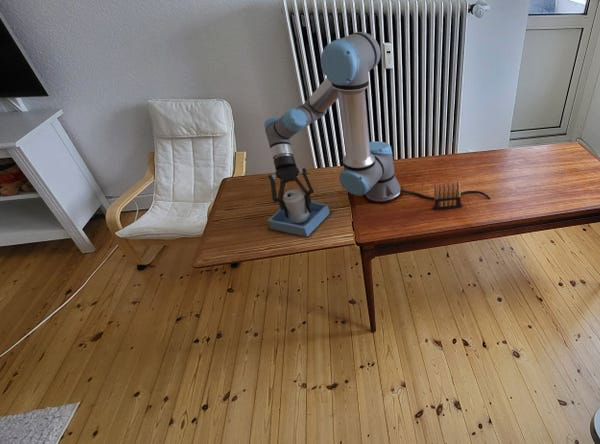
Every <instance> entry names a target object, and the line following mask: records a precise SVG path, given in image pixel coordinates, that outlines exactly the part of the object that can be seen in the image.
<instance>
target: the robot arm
mask: <svg viewBox="0 0 600 444" xmlns="http://www.w3.org/2000/svg"><path fill="white" fill-rule="evenodd" d="M381 53H382V52H381V48H380V44H379V43H378V41H377V39H376V38H375V37H374V36H372V35H371V33H367V32H364V31H357V32H353V33H351V34H349V35H347V36H344V37H341V38H337V39H334V40H333V41H331V42H330V43H328V44H327V45H326V46H325V47H324V48H323V50H322V52H321V56H320V67H321V70H322V73H323V75H324V76H326V78H325V79H324V80H323V81H322V83H320V85H319V86H318V87H317V88H316V90H315V91H313V92H312V94H311V95H310V96H309V97H308V99H306V101H305V102H304V103H302V104H301V105H299V106H297V107H295V108H294V107H293V108H290V109H289V110H288V111H285V112H284V113H283V115H281V116H280V117H276V116H275V117H270V118H268V119H266V120H265V121H264V123H263V124H264V129H265V135H266V138H267V142H268V145H269V149H270V153H271V156H272V157H271V158H272V159H273V165H274V168H275V173H274V174H272V175H271V174H269V175H268V179H269V181H270V190H271V200H272V201H273V202H276V203H277V202H278V207H279V210H280V209H281V210H284V213H285V217H286V218H289V216H288V212H287V209H286V206H285V203H284V201H283V198H284V194H285V187H286V184H287V183H289V182H295V183H296V184H297V186H298V187H299V188H300V189H301V190H302V193H303V194H304V198H305V201H306V205H307V209H308V212H309V213H311V211H310V207H309V204H310V203H311V202H312V199H311V195H312V194H314V189H313V186H312V184H311V182H310V180H309V178H308V175H307V168H305V167H303V168H299V167H297V162H296V159H295V157H294V152H293V148H292V145H291V140H290V139H291V138H293V136H295V135H296V134H297V133H299V132H301V131H302V130H303V129H305V128H306V127H308V126H310V125H311V124H312V123H314V122H316V121H318V120H320V119H321V118H323V117H324V116H325V115H326V114H327V112H328V110H329V108H330V107H331V106H333V104H334V103H335V102H336V101H337V100H338V104H339V111H340V118H341V126H342V134H343V141H344V148H345V154H344V156H343V157H342V165H343V170H342V171H340V173H339V175H338V181H339V183H340V185H341V187H342V188H343V189H344V190H345V191H346V192H347V193H349V194H351V195H354V196H364V195H365V198H366V199H367V200H368V201H370V202H372V203H377V204H385V203H390V202H392V201H395V200H396V199H398V198H399V197H400V196H401V194H402V193H403V194H409V195H413V196H414V195H415V196H419V197H421V198H423V199H428V200H435V197H434V196H427V195H425V194H422V193H419V192H415V191H412V190H411V191H410V190H404V189H401V185H400V183H399V181H398V179H397V177H396V175H395V174H396V173H395V166H394V156H393V151H392V146H391V145H390V144H389V143H388V142H385V141H380V140H379V141H370V133H369V123H368V110H367V100H366V89H367V88H368V87H369V85H370V81H369V72H370V71H371V70H373V69H374V68H376V66H378V64H379V62H380V61H381V56H382V55H381ZM299 173H300V175H302V177H303V178H304V182H306V185H307V188H308V190H307V188H306V187H305V186H304V185H303V183H302V182H301V181H300V180H299V178H298V175H299ZM277 178H278V179H279V180H280V181H279V182H280V184H279V188H278V195H277V187H276V186H277V185H276V181H277ZM465 194H479V195H482V196H484V197H485V198H486V199H488V200H491V199H492V198H491V197H490V195H488V194H486V193H485V192H483V191H480V190H465V191H462V192H461V191H460V196H463V195H465Z"/></svg>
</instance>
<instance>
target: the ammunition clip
mask: <svg viewBox="0 0 600 444" xmlns="http://www.w3.org/2000/svg"><path fill="white" fill-rule="evenodd" d="M460 193H461V185H460V181H457V182H456V183H455V181H453V182H452V185H451V182H448V183H446V182H443V185H442V182H440V183H439V185H438V184H437V183H435V184H434V191H433V197H435V199H434V210H435V211H436V210H437V211H438V210H446V209H447V210H448V209H456V208H457V209H459V208H461V207H462V201H461V199H462V198H461V195H460Z"/></svg>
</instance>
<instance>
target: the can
mask: <svg viewBox="0 0 600 444" xmlns="http://www.w3.org/2000/svg"><path fill="white" fill-rule="evenodd" d="M304 195H305V193H304V192H303V191H301V190H300V189H296V188H295V189H294V188H293V189H288V190H287V191H285V192H284V194H283V201H284V203H285V206H286V209H287V212H288V214H289V217H290V220H291V221H292V222H294V223H303V222H305V221H307V220H308V218H309V217H310V213H309V212H308V209H307V205H306V201H305V198H304Z"/></svg>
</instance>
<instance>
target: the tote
mask: <svg viewBox="0 0 600 444" xmlns="http://www.w3.org/2000/svg"><path fill="white" fill-rule="evenodd" d="M309 207H310V211H311V213H310V217H309V218H308V220H307V221H305V222H303V223H294V222H292V221H291V220H290V217H289V218H286V217H285V213H284V210H281V209H280V208H279V210H277V211H276V212H275V213H273V215H272V216H271V217H269V218H268V219H267V223H268V226H269V228H270V230H273V231H280V232H282V233H283V232H284V233H288V234H293V235H298V236H302V237H306V238H308V237H309V236H310V235H311V233H313V231H315V229H317V227H318V226H319V225H320V224H321V223H322V222H323V221H324V220H325V219H326V218H327V217H328V216H329V215H330V214H331V211H330V208H329V205H328V204H326V203H320V202H315V201H311V203H310V204H309ZM288 216H289V214H288Z"/></svg>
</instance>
